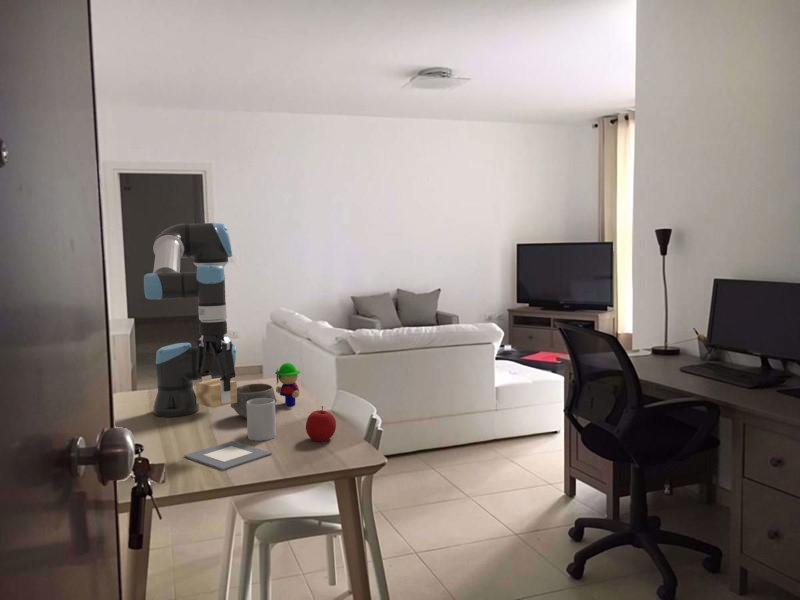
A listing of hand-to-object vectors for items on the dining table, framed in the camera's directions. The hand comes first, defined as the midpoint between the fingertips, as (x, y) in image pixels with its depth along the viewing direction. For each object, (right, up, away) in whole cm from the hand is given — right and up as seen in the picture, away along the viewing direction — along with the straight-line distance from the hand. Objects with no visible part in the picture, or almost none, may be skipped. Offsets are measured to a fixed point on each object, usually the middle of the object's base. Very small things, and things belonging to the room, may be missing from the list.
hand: (216, 400), depth 195 cm
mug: (+9, -13, +15) cm, 22 cm away
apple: (+28, -13, +10) cm, 33 cm away
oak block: (0, -1, 0) cm, 1 cm away
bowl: (+3, -11, +36) cm, 38 cm away
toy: (+12, -9, +52) cm, 54 cm away
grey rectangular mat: (+4, -15, -3) cm, 16 cm away
